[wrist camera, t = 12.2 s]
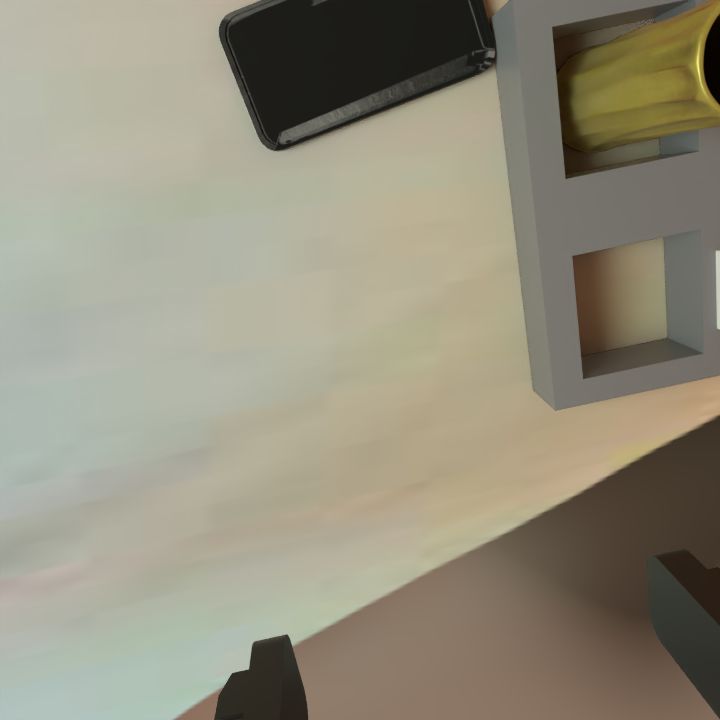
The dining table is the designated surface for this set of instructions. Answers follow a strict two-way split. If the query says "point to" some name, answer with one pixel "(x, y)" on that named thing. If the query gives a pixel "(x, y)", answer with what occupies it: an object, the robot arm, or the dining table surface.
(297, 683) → the robot arm
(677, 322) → the socket block
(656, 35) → the vase
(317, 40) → the phone
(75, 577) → the dining table surface
